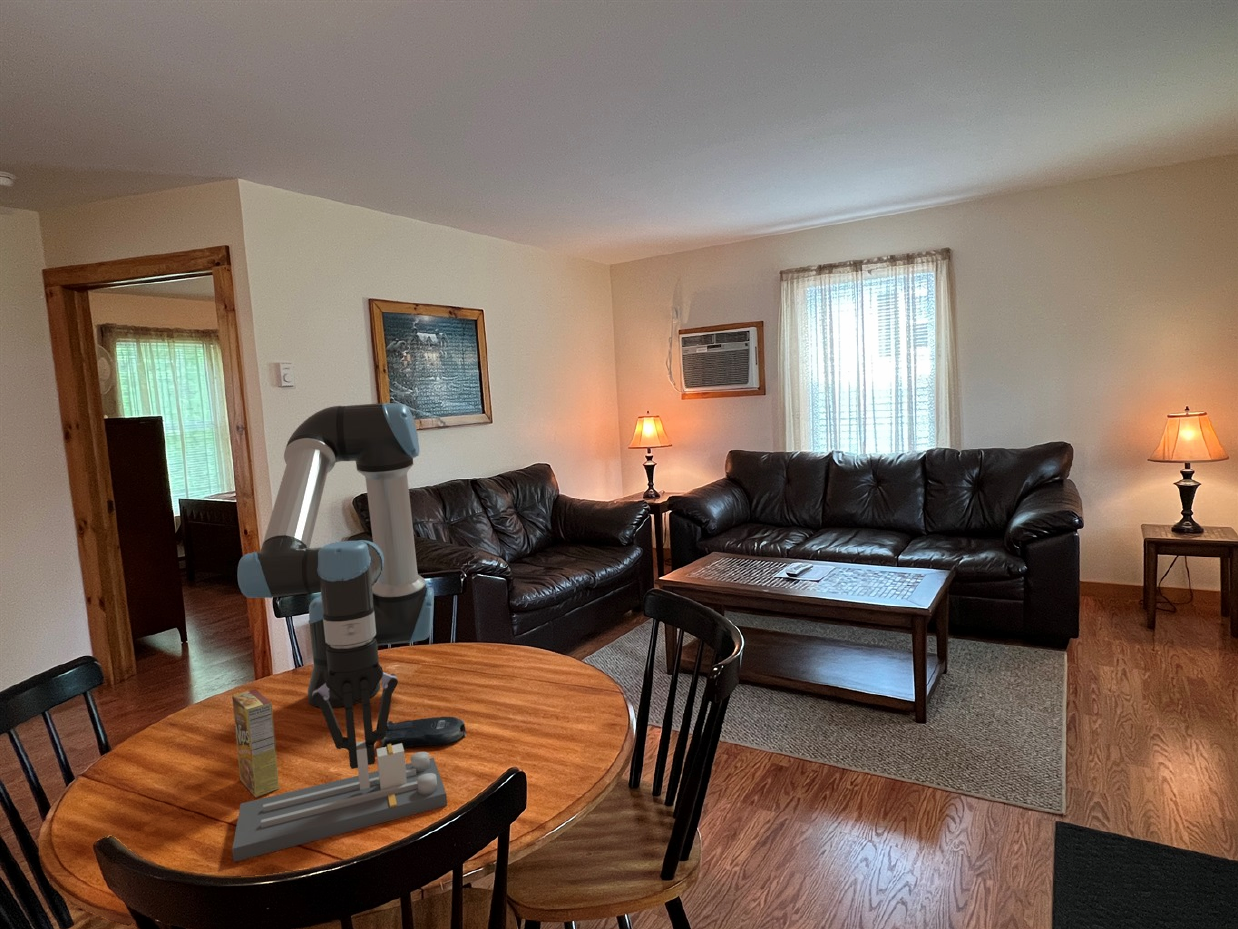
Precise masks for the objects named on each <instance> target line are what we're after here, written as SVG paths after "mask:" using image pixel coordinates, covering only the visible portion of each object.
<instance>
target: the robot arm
mask: <svg viewBox="0 0 1238 929" xmlns="http://www.w3.org/2000/svg"><path fill="white" fill-rule="evenodd" d="M284 449H285V450H284V454H283V459H284V462H285V464H286V465H285V468H284V471H283V474H282V479H281V482H280V485H279V489H278V491H277V492H278V493H277V495H276V498H275V502H274V505H273V507H272V512H271V514H270V518H269V521H268V525H267V529H266V531H265V534H264V538H263V541H262V544H261V548H260V551H259V552H258V551H253V552H249V553H245V554H244V555H243V556H241V558H240V560H239V562H238V565H237V574H236V575H237V583H238V587H239V589H240V592H241V593H242V595H243V596H245V597H246V598H250V599H259V598H260V599H261V598H262V599H264V598H266V599H267V598H268V599H272V598H277V597H286V596H295V595H304V594H305V595H306V594H320V595H319V596H316V597H315V598H313V600H311V602H310V604H309V606H308V614H309V615H308V617H309V618H308V619H309V620H308V624H309V634H310V641H311V649H312V650H311V652H312V660H313V667H312V672H311V677H310V680H309V684H308V688H307V700H308V703H309V705H311V706H313V707H317V708H320V710H321V712H322V713H321V714H322V715H323V718H324V721H325V723H326V725H327V729H328V730H329V732H330V736H331V738H332V740H333V744H334V746H335V748H336V750H341V749H344V750H347V751H348V759H349V760H348V761H349V768H350V769H351V770H354V769H357V770H358V775H359V784H360V790H362V789H366V788H370V782H369V773H370V771H369V766H370V765H374V764H375V763H376V754H375V753H376V752H375V744H376V743H377V742H378V741H382V739H384V738H385V734H386V728H387V723H388V721H389V715H390V710H391V702H392V697H393V694H394V691H395V689H396V687H397V686H398V683H399V682H398V677H397V675H396V674H394V673H392V674H389V673H386V672H384V671H383V667H382V666H381V665H380V661H379V650H378V646H385V645H395V644H406V643H408V644H411V643H415V642H419V641H424V640H427V639H428V638H429V637H430V635H431V632H432V628H433V617H434V603H435V600H434V599H435V594H434V590H435V589H434V588H432V587H430V586H428V587H427V582H426V579H425V578H424V577H422V576H421V575H419V573H418V566H417V564H418V563H417V556H416V547H415V536H414V528H413V517H412V516H413V515H412V507H411V498H410V489H409V488H410V487H409V479H408V472H409V471H410V469H411V468H412V467H413V466H414V458H416V457H418V456H419V455H420V444H419V435H418V431H417V426H416V423H415V419H414V416H413V414H412V411H411V410H410V408H409V407H408V406H407V405H406V404H404V403H397V402H395V403H392V402H391V403H389V402H381V403H367V404H365V403H364V404H355V405H354V404H351V405H333V406H329V407H325V408H322V409H321V410H319V411H316V412H315V413H313V414H312V415H311V416H309V417H308V418H307V419H305V420H304V421H303V422H302V423H301V424H300V425H298V427H297V428H296V429H295V430H294V431H293V433H292V434H291V436H290V437H289V439H288V441H287V443H286V446H285V448H284ZM339 462H355V465H356V466H355V468H356V471H357V472H358V473H360V474H361V475H362V476H364V479H365V486H366V493H367V494H366V495H367V502H368V511H369V519H370V529H371V535H372V541H370V540H366V539H365V540H364V539H360V540H344V541H337V542H336V541H335V542H332V543H328V544H324V545H322V546H321V547H311V542H312V539H313V534H314V530H315V527H316V523H317V522H316V521H317V518H318V513H319V510H320V505H321V502H322V496H323V493H324V488H325V484H326V480H327V475H328V474H329V473H330V472H331V471H332V470H333V469H334V468H335V465H336V463H339ZM381 687H382V693H381V698H380V704H379V711H378V718H377V723H376V728H375V730H373V720H372V718H373V717H372V707H371V698H372V697H373V696H376V695H377V693H379V691H380V689H381ZM360 702H361V710H362V711H361V712H362V721H363V722H362V723H363V732H364V741H360V742H357V735H356V726H355V725H356V724H355V717H354V704H358V703H360ZM339 707H344V717H345V725H346V726H345V727H346V728H345V729H346V736H343V733H342V730H341V728H340V726H339V723H338V720H337V717H336V715H335V713H334V709H333V708H339Z"/></svg>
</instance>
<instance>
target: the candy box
mask: <svg viewBox="0 0 1238 929" xmlns="http://www.w3.org/2000/svg"><path fill="white" fill-rule="evenodd" d="M232 708H233V715H234V716H233V717H234V718H233V719H234V729H235V739H236V740H235V741H236V748H237V760H238V769H239V770H238V772H239V779H240V781H241V782H242V784H243V785H244V786H245V787H246V788H247V789H248V791H249V792H250V793H251V794H252V796H253V797H254V799H255V798H256V799H257V798H259V797H261V796H263V795H266V794H268V793H269V794H270V793H271V792H275V791H276V790H279V789H280V782H279V773H278V772H279V771H278V770H279V769H278V758H277V747H276V737H275V736H276V735H275V724H274V715H273V714H274V713H273V703H272V701H271V700H269V699H268V698H267V697H265V696H264V695H263V694H262V693H260V691H258V690H257V689H256V688H255V689H250V690H247V691H243V692H240V693H236V694H233V695H232Z"/></svg>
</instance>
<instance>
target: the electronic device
mask: <svg viewBox="0 0 1238 929" xmlns="http://www.w3.org/2000/svg"><path fill="white" fill-rule="evenodd" d="M465 725H466V724H465V721H464V720H462V719H461V718H458V717H455V716H437V717H425V718H420V719H419V718H418V719H412V720H404V721H400V722H393V721H392V720H388V722H387V728H386V734H385V738H384V739H382V740H381V748H383V747H387V745H388V744H391V746H392V745H396V744H400V743H402V745H403V749H405V748H410V747H411V748H414V747H420V746H426V747H436V746H441V747H443V746H445V745H446V746H447V745H450V744H453V743H455V742H457V741H459V740H460V739H461V738H462V737H464V736H465V737H467V734H466V733H467V730H466V729H467V728H466V726H465ZM462 732H463V733H462Z"/></svg>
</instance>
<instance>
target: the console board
mask: <svg viewBox="0 0 1238 929" xmlns="http://www.w3.org/2000/svg"><path fill="white" fill-rule="evenodd" d="M405 767H406V779H407V784H404V785H400V786H396V787H392V788H388V789H383V790H381V789H380V783H379V771H378V770H376V771H371V772H369V782H370V788H366V789H362V790H360V784H359V774H358V775H356V776H351V777H347V778H342V779H339V780H333V781H330V782H326V783H322V784H317V785H312V786H309V787H305V788H301V789H297V790H291V791H288V792H284V793H279V794H275V795H271V796H267V797H262V798H258V799H255V800H254V799H253V800H250V801H246V802H242V803H240V806H239V812H238V817H237V821H236V826H235V833H234V838H233V843H232V857H233V858H232V859H233V863H236V862H239V861H243V860H248V859H251V858H254V857H258V856H262V855H266V854H269V853H272V852H277V851H280V850H281V851H282V850H284V849H288V848H292V847H296V846H300V845H304V844H307V843H310V842H315V841H318V840H322V839H326V838H329V837H333V836H334V837H335V836H336V835H337V836H338V835H342V834H345V833H349V832H353V831H357V830H360V829H363V828H367V827H371V826H374V825H378V824H381V823H382V824H383V823H386V822H390V821H394V820H398V819H401V818H404V817H408V816H412V815H416V814H420V813H424V812H428V811H431V810H435V809H438V808H443V807H446V806H448V799H447V791H446V788H445V785H444V783H443V781H442V778H441V774H440V772H439V770H438V769H439V768H438V766H437V763H436V760H435V758H434V757H430V753H429V752H426V751H420V752H419V751H418V752H416V753H414V754H412V755H411V756H410V762H409V763H405Z"/></svg>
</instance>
